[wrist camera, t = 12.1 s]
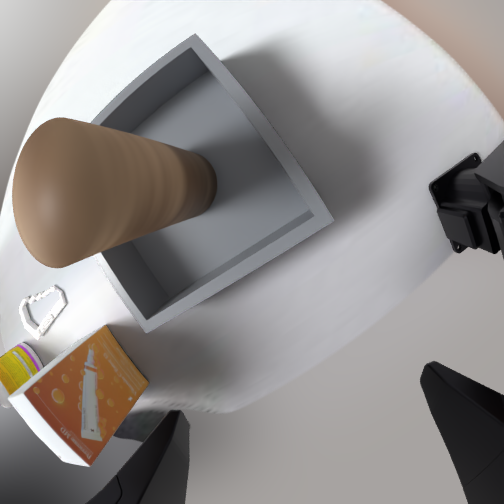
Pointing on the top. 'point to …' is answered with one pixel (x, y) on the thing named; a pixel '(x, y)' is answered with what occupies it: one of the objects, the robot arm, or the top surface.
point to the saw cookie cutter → (40, 330)
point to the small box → (81, 397)
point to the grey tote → (228, 187)
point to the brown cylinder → (101, 189)
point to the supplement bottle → (17, 370)
